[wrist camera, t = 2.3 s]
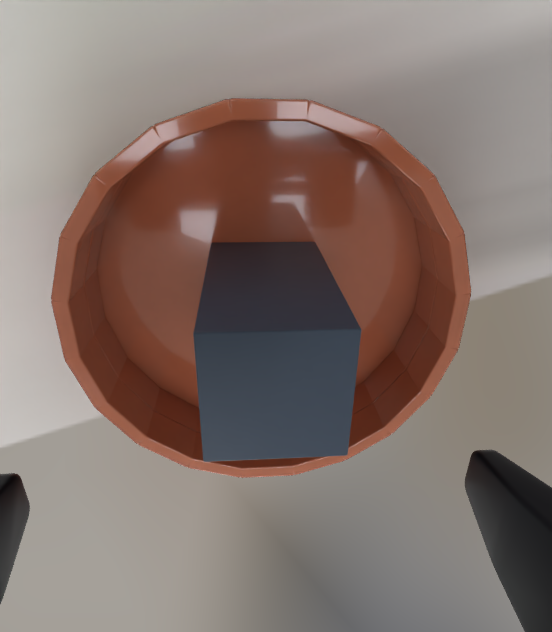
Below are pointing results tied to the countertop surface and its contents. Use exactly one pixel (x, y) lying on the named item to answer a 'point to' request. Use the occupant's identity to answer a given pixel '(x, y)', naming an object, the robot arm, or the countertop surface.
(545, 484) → the robot arm
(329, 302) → the block
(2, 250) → the countertop surface
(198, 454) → the bowl
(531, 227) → the countertop surface
